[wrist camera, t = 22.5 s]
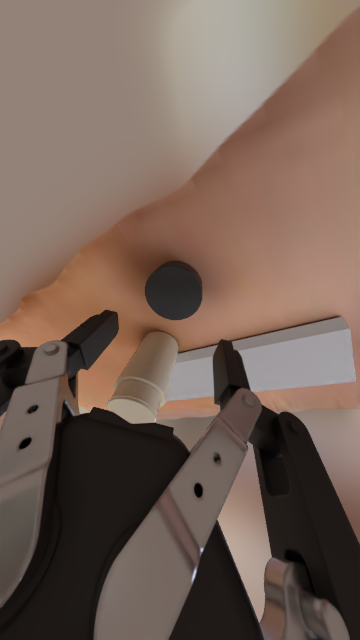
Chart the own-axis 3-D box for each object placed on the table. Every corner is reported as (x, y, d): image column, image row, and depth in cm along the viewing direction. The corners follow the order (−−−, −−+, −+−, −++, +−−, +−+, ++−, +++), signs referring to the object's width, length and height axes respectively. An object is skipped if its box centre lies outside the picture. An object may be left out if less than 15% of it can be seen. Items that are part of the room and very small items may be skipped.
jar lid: (206, 305, 19) (207, 315, 17) (162, 315, 21) (157, 324, 19) (195, 253, 16) (193, 257, 14) (142, 269, 18) (135, 275, 16)
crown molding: (340, 316, 18) (368, 335, 15) (333, 375, 23) (352, 397, 20) (149, 360, 28) (143, 377, 25) (177, 394, 33) (174, 411, 30)
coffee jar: (157, 324, 22) (119, 387, 13) (186, 347, 24) (172, 421, 14) (136, 344, 25) (93, 408, 16) (163, 365, 27) (139, 435, 17)
